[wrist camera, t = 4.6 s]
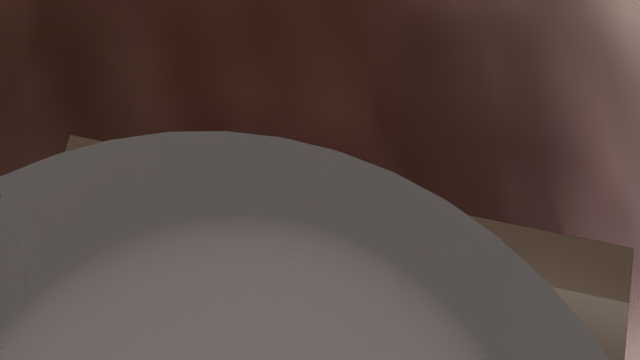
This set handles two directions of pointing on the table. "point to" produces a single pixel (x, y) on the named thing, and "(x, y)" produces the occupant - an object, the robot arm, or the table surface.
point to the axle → (258, 261)
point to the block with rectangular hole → (562, 272)
